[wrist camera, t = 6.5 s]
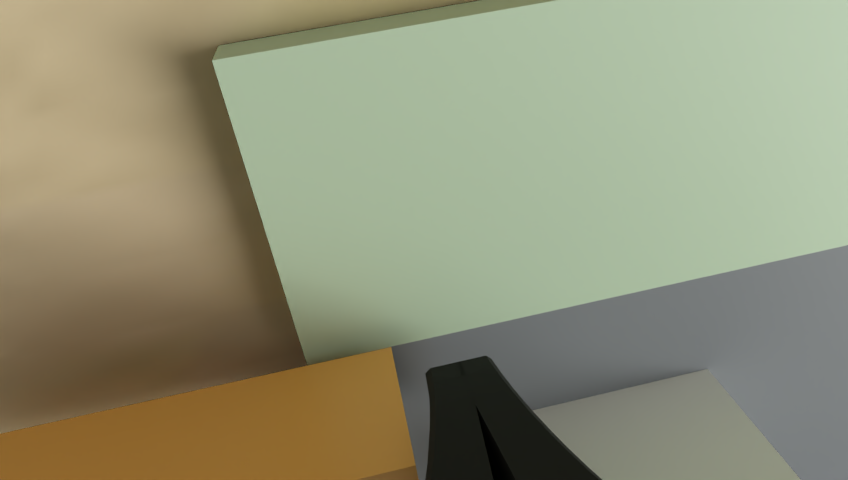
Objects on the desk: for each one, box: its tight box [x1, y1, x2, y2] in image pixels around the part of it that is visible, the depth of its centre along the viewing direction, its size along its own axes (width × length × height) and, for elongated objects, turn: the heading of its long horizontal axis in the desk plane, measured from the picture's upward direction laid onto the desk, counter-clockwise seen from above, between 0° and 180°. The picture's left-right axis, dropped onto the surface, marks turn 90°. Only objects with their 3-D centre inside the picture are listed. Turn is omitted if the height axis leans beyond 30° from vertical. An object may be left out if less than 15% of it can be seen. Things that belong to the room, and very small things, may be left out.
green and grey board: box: [212, 0, 848, 480], centre depth 16 cm, size 18×22×1 cm
